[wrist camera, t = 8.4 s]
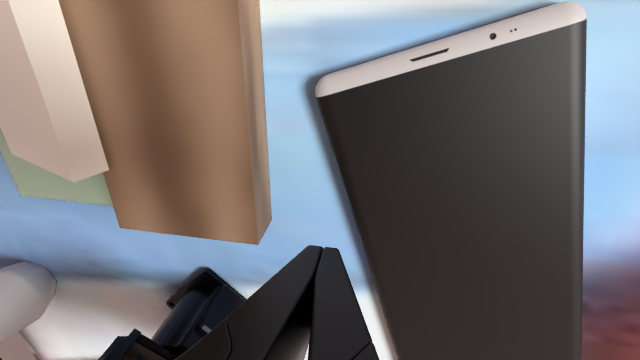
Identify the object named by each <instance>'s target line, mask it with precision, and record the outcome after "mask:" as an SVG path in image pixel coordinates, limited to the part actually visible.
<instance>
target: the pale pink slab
mask: <svg viewBox="0 0 640 360" xmlns="http://www.w3.org/2000/svg"><path fill="white" fill-rule="evenodd" d="M0 128H1V130H2V132H3V135H4V137H5V139H6V142H7V144H8V146H9V149H10V151H11V153H12V154H13V155H15V156H17V157H19V158H21V159H24V160H26V161H28V162H30V163H32V164H35V165H37V166H39V167H41V168H43V169H46V170H48V171H50V172H52V173H54V174H56V175H59V176H61V177H63V178H65V179H67V180H70V181H72V182H76V181H79V180H82V179H85V178H88V177H91V176H94V175H96V174H99V173H102V172H105V171H108V170H109V168H108V164H107V161H106V158H105V154H104V151H103V148H102V144H101V141H100V138H99V134H98V131H97V128H96V124H95V121H94V117H93V114H92V111H91V107H90V104H89V101H88V97H87V94H86V91H85V87H84V84H83V81H82V77H81V74H80V71H79V67H78V64H77V61H76V57H75V54H74V51H73V47H72V44H71V41H70V37H69V34H68V31H67V27H66V24H65V21H64V17H63V14H62V11H61V7H60V4H59V1H58V0H0Z"/></svg>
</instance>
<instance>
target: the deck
mask: <svg viewBox="0 0 640 360" xmlns="http://www.w3.org/2000/svg"><path fill="white" fill-rule="evenodd" d="M58 1H59V4H60V7H61V11H62V14H63V17H64V21H65V24H66V27H67V31H68V34H69V37H70V41H71V44H72V47H73V51H74V54H75V57H76V61H77V64H78V67H79V71H80V74H81V77H82V81H83V84H84V87H85V91H86V94H87V97H88V101H89V104H90V107H91V111H92V114H93V117H94V121H95V124H96V128H97V131H98V134H99V138H100V141H101V144H102V148H103V151H104V154H105V158H106V161H107V164H108V168H109V170H108V171H105V172H103V175H104V178H105V181H106V184H107V187H108V191H109V194H110V197H111V200H112V204H113V207H114V210H115V213H116V216H117V220H118V223H119V226H120V228H125V229H133V230H141V231H149V232H157V233H165V234H174V235H182V236H190V237H198V238H206V239H214V240H222V241H231V242H239V243H247V244H255V245H258V244H259V242H260V240H261V238H262V237H263V235H264V233H265V231H266V229H267V228H268V226H269V224H270V222H271V220H272V216H271V198H270V181H269V164H268V147H267V129H266V112H265V95H264V77H263V60H262V43H261V25H260V8H259V0H58Z"/></svg>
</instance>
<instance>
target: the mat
mask: <svg viewBox="0 0 640 360" xmlns="http://www.w3.org/2000/svg"><path fill="white" fill-rule="evenodd" d="M0 151H1V154H2V156H3V158H4V160H5V163H6V165H7V167H8V169H9V171H10V174H11V176H12V178H13V180H14V183H15V185H16V187H17V189H18V191H19V194H20V196H29V197H38V198H46V199H55V200H64V201H73V202H82V203H91V204H100V205H109V206H113V204H112V200H111V197H110V194H109V191H108V187H107V184H106V181H105V178H104V175H103V172H102V173H99V174H96V175H94V176H91V177H88V178H85V179H82V180H79V181H76V182H72V181H70V180H67V179H65V178H63V177H61V176H59V175H56V174H54V173H52V172H50V171H48V170H46V169H43V168H41V167H39V166H37V165H35V164H32V163H30V162H28V161H26V160H24V159H21V158H19V157H17V156H15V155H13V154H12V153H11V151H10V149H9V146H8V144H7V142H6V139H5V137H4V135H3V132H2V130H1V128H0Z"/></svg>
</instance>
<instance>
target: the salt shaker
mask: <svg viewBox="0 0 640 360" xmlns="http://www.w3.org/2000/svg"><path fill="white" fill-rule="evenodd" d="M56 282H57V281H56V280H55V278H54V277H53V276H52V275H51V274H50V273H49V272H48V271H47V270H46V269H45V268H44V267H43V266H40V265H37V264H34V263H31V262H28V261H23V262H20V263H17V264H13V265H10V266H6V267H3V268H0V343H1V342H3V341H5V340H6V339H8V338H9V337H11V336H12V335H14V334H15V333H17V332H19V331H20V330H22V329H23V328H25V327H26V326H28V325H30V324H31V323H33V322H34V321H36V320H37V319H39V318H40V317H41V316H42V315H43V313H44V312H45V310H46V308H47V307H48V305H49V303H50V301H51V299H52V297H53V295H54V294H55V290H56Z"/></svg>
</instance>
